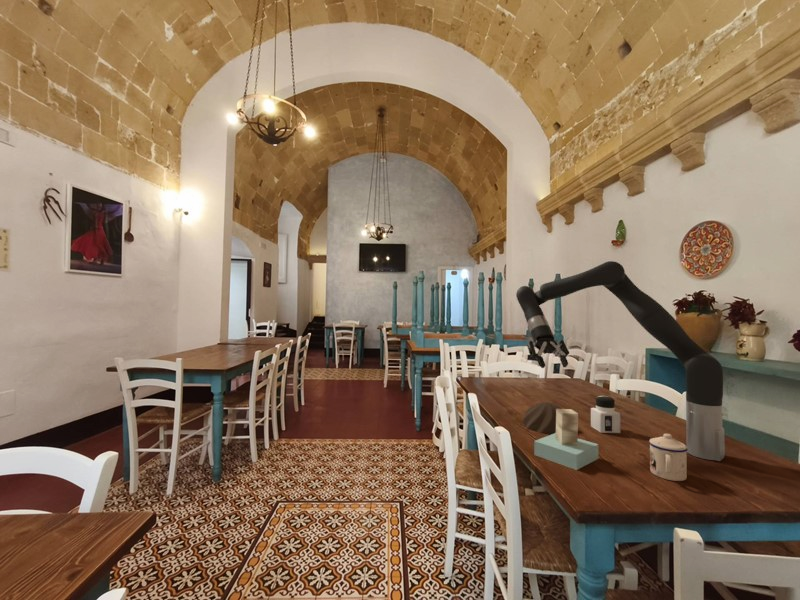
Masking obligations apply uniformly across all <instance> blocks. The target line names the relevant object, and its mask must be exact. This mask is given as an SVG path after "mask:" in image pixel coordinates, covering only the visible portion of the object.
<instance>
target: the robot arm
mask: <svg viewBox="0 0 800 600" xmlns="http://www.w3.org/2000/svg"><path fill="white" fill-rule="evenodd" d="M599 286H603V287H604V288H605V289H607V290H608V291H609V292H611V293H612V295H614V296H615V297H616V298H618V300H619V301H621V303H622V304H623V306H625V309H627V310H628V312H629V313H630V314H631V316H632V317H633V318H634V319H635V320H636V321H637V322H638V324H639V325H640V326H641V327H642V328H643V329H644V330H645V331H646V332H647V333H648V334H649V335H651V336H652V337H653V338H654V339H656V341H658V342H659V343H661V344H662V345H663V346H665V347H666V348H667V349H669V351H670V352H671V353H672V354H673V355H674V356H675V357H676V358H677V360H678V361H679V363H680V364H681V365H683V367H684V369H685V385H686V386H685V401H686V402H685V415H686V416H685V417H686V418H685V419H686V420H685V423H686V424H685V425H686V426H685V428H686V430H685V431H686V432H685V433H686V438H685V439H686V444H685V445H686V447H687V449H688V450H687V451H686V453H687V454H689V455H691V456H693V457H697V458H700V459H704V460H709V461H717V462H721V461H723V459H724V458H725V455H726V454H725V428H724V427H723V398H724V371H723V370H724V369H723V366H722V364H721V362H720V361H719V360H718V359H717V358H716V357H715V356H713V355H712V354H710V353H709V352H707V351H706V350H704V348H702V347H701V346H700V345H699V344H697V343H696V342H695V341H694V339H692V338H691V337H690V336H689V335H688V333H687V332H686V331H685V330H684V328H683V327H682V326H681V324H679V322H678V321H677V319H675V318H674V316H672V314H671V313H669V312H668V310H667V309H666V308H665V307H663V305H661V303H659V302H658V301H657V300H656V299H654V298H653V297H651V296H650V295H648V294H647V293H645V292H644V291H643V290H641V289H640V288H639V287H638V286H637V285H636V284H635V283H634V282H633V281H632V280H631V278H630V277H629V276H628V275H627V274H626V272H625V268H624V267H623V265H622V264H621V263H619V262H617V261H613V260H612V261H611V260H610V261H606V262H602V263H601V264H599V265H597V266H595V267H592V268H590V269H588V270H585V271H582V272H580V273H578V274H573V275H571V276H567V277H563V278H560V279H557V280H556V279H555V280H553V281H548V282H545V283H543V284H541V285H540V286H539V290H537V291H535V292H534V290H533V288H531V287H530V286H527V285H524V286H520V287H519V288H518V289H517V290H516V295H515V296H516V300H517V301H518V303H519V305H520V306H519V307H520V308H521V310H522V312H523V314H524V318H525V320H526V324H527V327H528V331H529V332H530V333H529V334H530V336H531V338H532V340H529V342H528V343H527V344H526V345H527V350H528V353H529V355H530V356H529V357H530V358H531V359H536V361H537V363H538V366H539V367H540V368H541V369H544V368H545V367H546V362H545V360H544V358H543V356H542V355H543V354H546V355H547V354H553V355H554V356H557V357H558V358H559V361H560V362H561V365H562V367H563V368H567V367H568V365H569V362H568V359H567V357H568V356H569V355H570V351H569V349H568V347H567V345H566V343H565V341H564V340H562V339H561V340H559V341H556V339H555V335H554V333H553V331H552V329H551V326H550V324H549V322H548V320H547V318H546V317H545V314H544V311H543V310H542V308H541V305H543V304H545V303H547V302H548V301H551V300H555V299H560V298H564V297H566V296H569V295H571V294H574V293H576V292H579V291H581V290H585V289H588V288H593V287H599ZM535 348H536V349H537V350H538V351H537V352H536V349H535Z"/></svg>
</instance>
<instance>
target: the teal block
mask: <svg viewBox="0 0 800 600" xmlns="http://www.w3.org/2000/svg"><path fill="white" fill-rule="evenodd" d="M533 442H534V443H533V444H534V445H533V447H534V449H533V451H534V456H536V457H539V458H542V459H544V460H547V461H550V462H553V463H555V464H559V465H562V466H563V467H566V468H569V469H572V470H575V471H578V470H579V469H581V468H583V467H586V466H587V465H589V464H591V463H593V462H595V461H597V460H599V443H595V442H591V441H588V440H585V439H581V438H578V445H562V444H561V443H560V442H559V441H558V440H557V439H556V433H554V434H550V435H547V436H544V437H541V438H539V439H536V440H534V441H533Z"/></svg>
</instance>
